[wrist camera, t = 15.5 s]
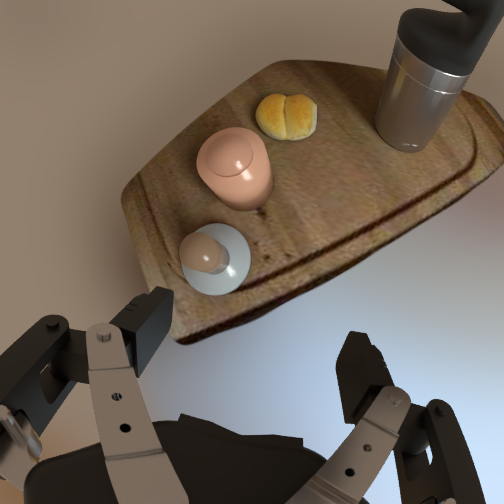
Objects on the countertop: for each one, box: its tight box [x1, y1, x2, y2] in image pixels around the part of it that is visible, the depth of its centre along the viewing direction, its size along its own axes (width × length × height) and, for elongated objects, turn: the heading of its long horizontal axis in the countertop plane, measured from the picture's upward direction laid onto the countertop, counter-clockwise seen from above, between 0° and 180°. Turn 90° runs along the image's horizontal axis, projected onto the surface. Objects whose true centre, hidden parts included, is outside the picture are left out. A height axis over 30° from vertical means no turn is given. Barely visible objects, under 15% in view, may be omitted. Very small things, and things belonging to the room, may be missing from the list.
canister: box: [197, 127, 274, 211], centre depth 34 cm, size 8×8×9 cm
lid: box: [179, 223, 251, 295], centre depth 33 cm, size 9×9×8 cm
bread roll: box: [256, 94, 317, 141], centre depth 37 cm, size 8×9×4 cm
